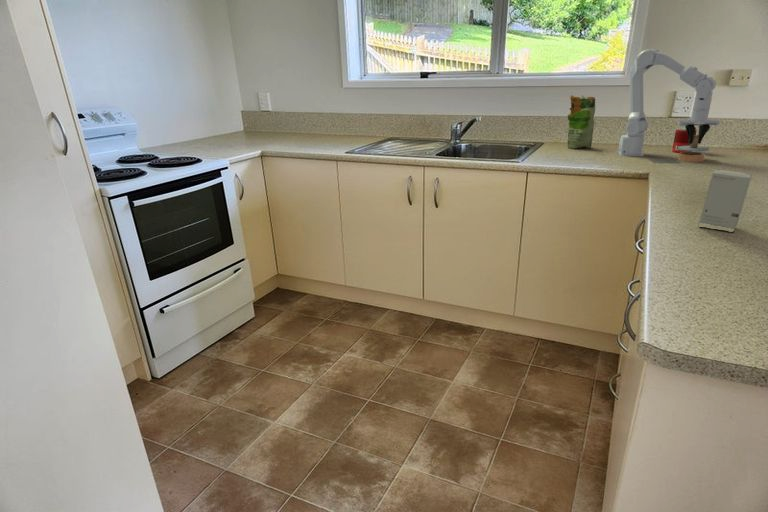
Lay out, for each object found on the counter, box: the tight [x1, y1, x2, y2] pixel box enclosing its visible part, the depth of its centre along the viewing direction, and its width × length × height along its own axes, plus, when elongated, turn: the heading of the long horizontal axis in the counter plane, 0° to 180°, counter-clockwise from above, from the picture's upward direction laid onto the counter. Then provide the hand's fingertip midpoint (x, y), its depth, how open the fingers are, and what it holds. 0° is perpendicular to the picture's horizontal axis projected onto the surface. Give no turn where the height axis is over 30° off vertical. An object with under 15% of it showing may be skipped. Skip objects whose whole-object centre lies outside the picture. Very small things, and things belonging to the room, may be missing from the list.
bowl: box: [677, 151, 706, 163], centre depth 203 cm, size 9×9×3 cm
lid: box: [678, 134, 710, 152], centre depth 201 cm, size 11×11×6 cm
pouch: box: [567, 94, 596, 150], centre depth 235 cm, size 11×12×25 cm
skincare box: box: [698, 169, 753, 230], centre depth 126 cm, size 8×6×15 cm
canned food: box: [671, 126, 698, 154], centre depth 217 cm, size 8×8×11 cm
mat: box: [647, 157, 681, 164], centre depth 204 cm, size 10×10×1 cm
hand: (694, 143), depth 201 cm, fingers closed on lid, 3 cm apart
